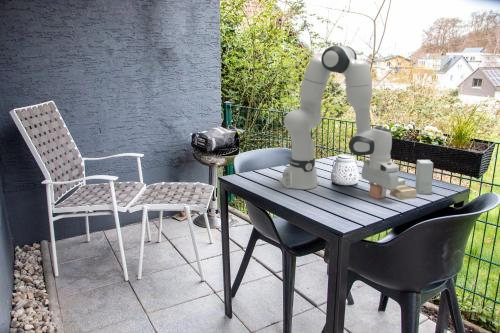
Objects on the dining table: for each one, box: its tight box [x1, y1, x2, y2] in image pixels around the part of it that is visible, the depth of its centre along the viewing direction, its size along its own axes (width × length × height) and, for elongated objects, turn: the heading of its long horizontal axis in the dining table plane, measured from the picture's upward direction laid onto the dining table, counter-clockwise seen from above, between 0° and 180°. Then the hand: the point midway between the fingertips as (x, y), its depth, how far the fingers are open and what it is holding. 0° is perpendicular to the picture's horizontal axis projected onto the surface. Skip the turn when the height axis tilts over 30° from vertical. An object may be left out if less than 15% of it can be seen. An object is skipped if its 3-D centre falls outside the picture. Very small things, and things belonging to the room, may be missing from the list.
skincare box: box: [414, 159, 434, 195], centre depth 177 cm, size 8×6×15 cm
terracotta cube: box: [369, 183, 387, 200], centre depth 172 cm, size 5×5×5 cm
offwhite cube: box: [398, 177, 406, 186], centre depth 183 cm, size 5×5×5 cm
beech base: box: [389, 184, 418, 201], centre depth 173 cm, size 8×8×4 cm
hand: (377, 193), depth 173 cm, fingers closed on terracotta cube, 5 cm apart
